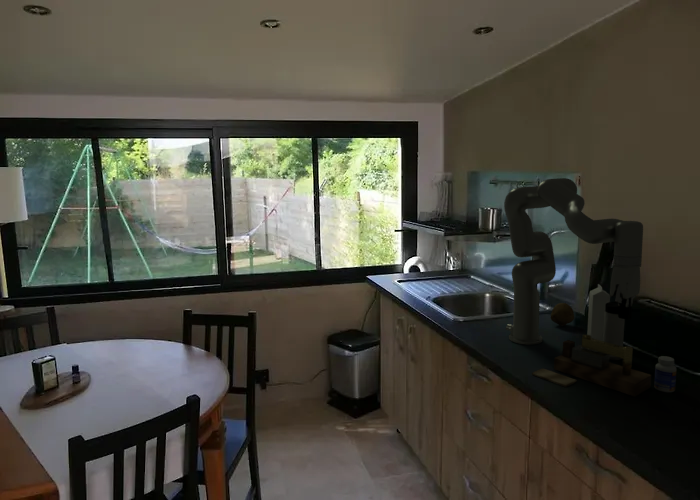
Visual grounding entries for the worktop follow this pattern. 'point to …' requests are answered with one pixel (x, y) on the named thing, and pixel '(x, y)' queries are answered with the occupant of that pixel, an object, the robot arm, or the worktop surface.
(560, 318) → the natural sponge
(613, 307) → the travel mug
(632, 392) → the plane body
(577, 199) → the robot arm
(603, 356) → the black rectangular block
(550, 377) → the cork pad
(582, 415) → the worktop surface
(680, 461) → the worktop surface
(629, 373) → the lever
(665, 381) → the pill bottle
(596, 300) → the milk
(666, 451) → the worktop surface
